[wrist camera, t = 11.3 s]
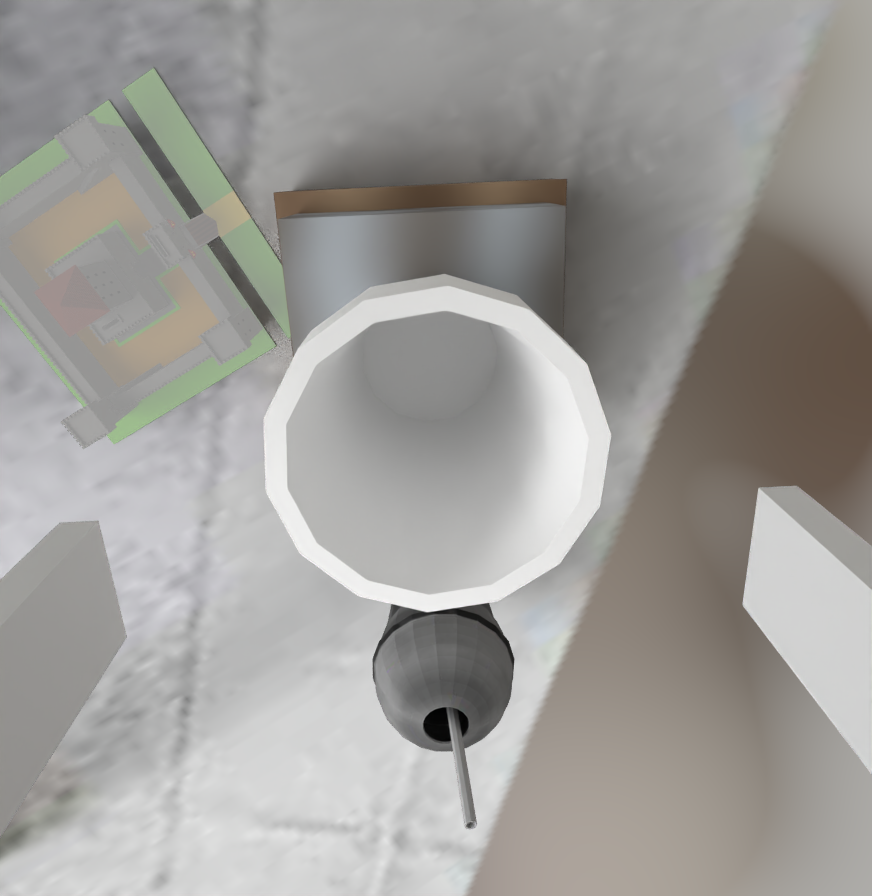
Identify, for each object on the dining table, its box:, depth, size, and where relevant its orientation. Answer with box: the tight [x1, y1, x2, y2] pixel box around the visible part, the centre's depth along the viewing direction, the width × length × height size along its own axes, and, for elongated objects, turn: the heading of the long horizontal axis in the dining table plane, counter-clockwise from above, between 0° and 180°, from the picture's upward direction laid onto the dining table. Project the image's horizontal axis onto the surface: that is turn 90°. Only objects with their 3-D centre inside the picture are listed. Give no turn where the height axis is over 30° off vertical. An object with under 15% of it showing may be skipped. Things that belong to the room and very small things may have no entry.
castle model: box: [0, 68, 291, 449], centre depth 36 cm, size 15×15×7 cm
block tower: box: [274, 179, 567, 357], centre depth 36 cm, size 14×14×10 cm
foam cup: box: [263, 274, 611, 612], centre depth 25 cm, size 10×9×13 cm
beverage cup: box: [373, 603, 514, 829], centre depth 37 cm, size 7×7×20 cm
